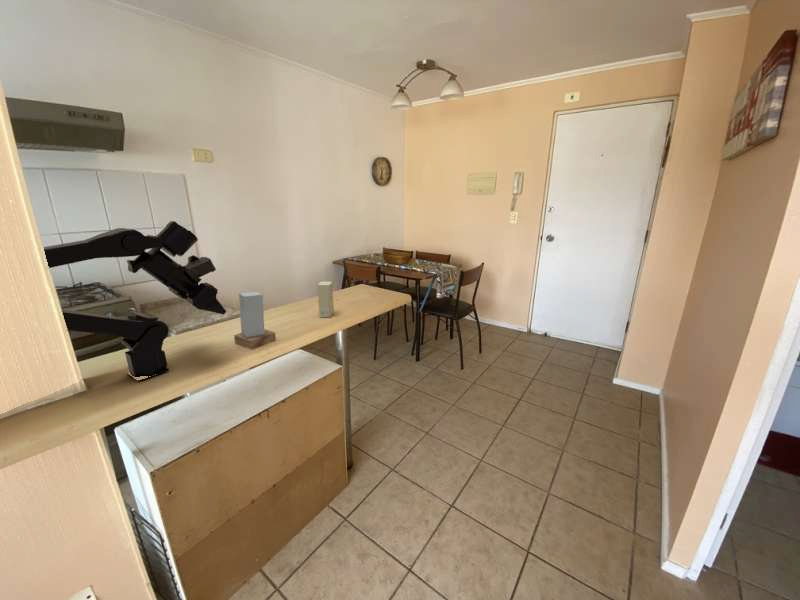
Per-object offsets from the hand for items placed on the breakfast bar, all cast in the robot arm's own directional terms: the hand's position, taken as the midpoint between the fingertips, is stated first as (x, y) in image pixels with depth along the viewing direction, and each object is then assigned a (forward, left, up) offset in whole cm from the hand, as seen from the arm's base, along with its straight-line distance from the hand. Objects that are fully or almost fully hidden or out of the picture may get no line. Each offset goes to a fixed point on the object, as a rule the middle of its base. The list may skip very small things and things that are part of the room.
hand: (217, 308), depth 90 cm
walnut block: (+8, -2, -12) cm, 15 cm away
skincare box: (+38, -2, -12) cm, 40 cm away
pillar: (+8, -2, -9) cm, 12 cm away
